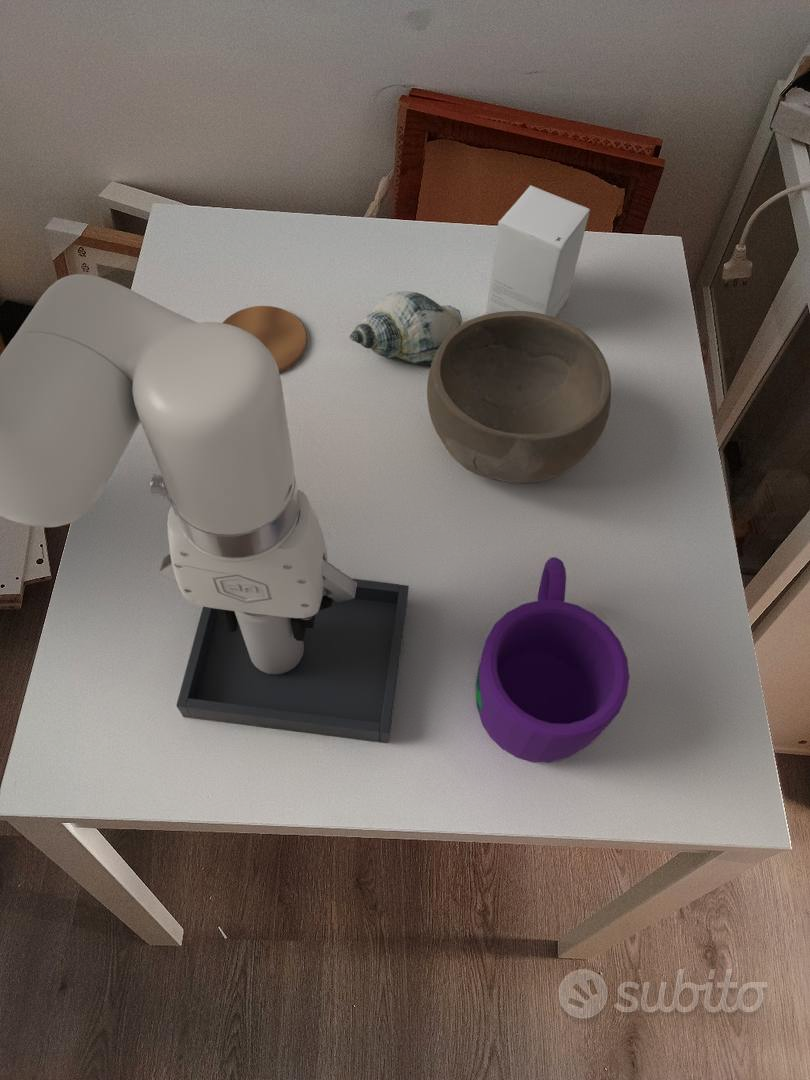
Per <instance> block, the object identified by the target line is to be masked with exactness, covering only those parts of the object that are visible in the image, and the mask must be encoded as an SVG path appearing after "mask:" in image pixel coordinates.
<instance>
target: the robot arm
mask: <svg viewBox="0 0 810 1080" xmlns="http://www.w3.org/2000/svg"><path fill="white" fill-rule="evenodd" d="M288 423H289V422H288V416H287V411H286V403H285V397H284V390H283V382H282V379H281V374H280V373H279V369H278V366H277V364H276V361H275V360H274V358H273V356H272V354H271V353H270V351H269V350H268V349H267V347H266V346H265V345H264V344H263V343H262V342H261V341H260V340H259V339H258V338H256V337H255V336H253V335H252V334H250V333H248V332H247V331H245V330H243V329H241V328H238V327H235V326H232V325H229V324H223V322H212V321H204V322H203V321H202V322H198V321H196V320H193V319H191V318H189V317H187V316H185V315H182V314H180V313H177V312H175V311H173V310H171V309H169V308H167V307H165V306H163V305H161V304H160V303H157V302H155V301H153V300H151V299H149V298H148V297H146V296H143V295H142V294H140V293H138V292H136V291H135V290H133V289H130V288H128V287H126V286H124V285H122V284H119V283H117V282H114V281H112V280H109V279H107V278H103V277H100V276H97V275H94V274H93V275H92V274H83V273H75V274H69V275H66V276H63V277H61V278H60V279H57V280H56V281H55V282H53V284H51V285H50V286H48V287H47V289H45V292H43V294H42V295H41V296H40V297H39V299H38V300H37V302H36V303H35V305H34V307H33V308H32V309H31V311H30V312H29V313H28V315H27V317H26V318H25V320H24V321H23V323H22V324H21V326H20V327H19V329H18V330H17V332H16V333H15V335H14V336H13V338H11V340H10V341H9V343H8V344H7V345H6V347H5V348H4V350H3V351H2V353H0V517H1V518H4V519H6V520H7V521H8V520H9V521H12V522H15V523H17V524H21V525H25V526H29V527H34V528H35V527H37V528H58V527H62V526H66V525H69V524H71V523H73V522H75V521H77V520H79V519H80V518H82V517H83V516H84V515H86V513H88V512H89V510H91V509H92V508H93V506H94V505H95V503H96V502H97V501H98V500H99V497H100V496H101V495H102V493H103V491H104V489H105V488H106V487H107V484H108V482H109V480H110V478H111V477H112V475H113V473H114V471H115V470H116V468H117V466H118V465H119V463H120V461H121V459H122V457H123V455H124V453H125V451H126V449H127V448H128V445H129V443H130V442H131V440H132V438H133V436H134V434H135V432H136V430H137V428H138V427H139V425H140V424H141V426H142V429H143V431H144V434H145V436H146V440H147V441H148V444H149V447H150V450H151V452H152V454H153V457H154V459H155V461H156V464H157V467H158V470H159V472H160V474H157V473H154V474H153V475H152V477H151V480H150V484H149V487H150V488H149V489H150V494H151V495H152V496H158V497H162V498H163V500H164V499H165V500H167V502H168V503H170V504H171V506H170V508H169V511H168V513H167V541H168V548H169V553H168V554H167V555H165V556H164V557H163V558H162V562H161V565H160V569H159V571H158V574H159V575H160V576H161V577H163V578H166V579H168V580H171V581H173V582H176V583H177V586H178V588H179V591H180V592H181V594H182V595H183V597H184V598H185V599H186V600H187V601H188V602H189V603H191V604H194V605H197V606H200V607H203V606H204V607H209V608H213V609H216V611H217V614H218V616H219V617H221V618H222V620H223V623H224V626H225V628H226V631H227V632H232V633H234V631H237V627H238V621H237V618H236V615H235V612H234V611H238V612H245V613H253V614H262V615H270V616H279V617H288V618H291V626H292V630H293V635H294V639H296V640H297V641H303V640H304V635H305V630H306V628H313V626H314V621H315V615H316V614H317V613H318V611H320V610H323V609H326V608H329V607H331V606H332V603H333V602H336V603H340V602H345V601H349V600H353V599H354V598H355V593H356V587H357V582H356V581H354V580H353V579H354V578H352V579H351V576H349V575H348V574H346V573H344V572H343V571H342V570H340V569H339V568H337V567H336V566H334V565H333V564H332V563H330V562H329V558H328V550H327V544H326V541H325V535H324V533H323V532H324V531H323V529H322V527H321V523H320V521H319V520H320V519H319V518H318V515H317V513H316V511H315V509H314V508H313V505H312V504H311V502H310V500H309V498H308V497H307V495H306V494H305V492H304V491H302V490H300V489H298V486H297V479H296V473H295V466H294V465H295V464H294V459H293V452H292V445H291V436H290V431H289V430H290V429H289V424H288Z"/></svg>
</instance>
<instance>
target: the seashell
mask: <svg viewBox="0 0 810 1080" xmlns="http://www.w3.org/2000/svg"><path fill="white" fill-rule="evenodd" d="M462 322H463V317H462V314H461V311H460V310H459V309H457V308H456V307H455V306H451V305H440V304H439V303H437V302H436V301H435V300H434V299H432V298H430V297H428V296H427V295H425V294H423V293H420V292H416V291H407V290H406V291H405V290H404V291H403V290H402V291H395V292H392V293H389V294H387V295H385V296H384V297H383V298H381V300H380V301H379V302H377V303H376V305H375V307H374V309H373V310H372V312H371V313H368V314H367V315H366V316H365V317H364V318H363V319H361V322H360V323H359V324H358V325H357V326H356V327H355V328H354V329H353V331H352V332H351V333H350V334H349V339H350V340H351V341H352V342H356V343H357V344H358V345H359V344H360V345H361V346H362V347H363V348H365V349H371V351H373V353H375V354H376V355H378V356H380V357H383V358H386V359H387V358H388V359H391V358H397V359H399V360H401V361H405V362H407V363H409V364H414V365H431V364H432V361H433V359H434V356H435V354H436V352H437V350H438V348H439V347H440V345H441V344H442V342H443V340H444V339H445V338H446V337H447V336H448V335H449V334H450V333H451V332H452V331H453V330H455V329H456V328H457V327H459V326H460V325H462V324H463V323H462Z"/></svg>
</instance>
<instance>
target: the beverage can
mask: <svg viewBox="0 0 810 1080" xmlns="http://www.w3.org/2000/svg"><path fill="white" fill-rule="evenodd" d="M234 612H235V615H236V618H237V621H238V623H239V626H240V629H241V632H242V635H243V638H244V641H245V644H246V647H247V649H248V652H249V655H250V658H251V661H252V663H253V664H254V665H255V667H257V668H258V669H259V670H260V671H262V672H265V673H267V674H282V673H285V672H288V671H290V670H291V669H293V668H294V667H295V666H296V665H297V664H298V663H299V662H300V660H301V658H302V656H303V652H304V642H303V641H297V640H296V639H294V635H293V630H292V626H291V618H288V617H279V616H270V615H262V614H253V613H245V612H238V611H234Z"/></svg>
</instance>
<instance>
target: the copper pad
mask: <svg viewBox="0 0 810 1080" xmlns="http://www.w3.org/2000/svg"><path fill="white" fill-rule="evenodd" d="M222 323H223V324H229V325H232V326H235V327H238V328H241V329H243V330H245V331H247V332H248V333H250V334H252V335H253V336H255V337H256V338H258V339H259V340H260V341H261V342H262V343H263V344H264V345H265V346H266V347H267V349H268V350H269V351H270V353H271V354H272V356H273V358H274V360H275V361H276V364H277V366H278V369H279V374H280V373H283V372H286V371H287V370H289V369H291V368H292V367H293V366H294V365H296V364H297V363H298V362H299V361H300V359H301V358H302V357H303V355H304V353H305V352H306V348H307V342H308V340H307V339H308V338H307V332H306V328H305V326H304V325H303V323H302V321H301V320H300V319H299V318H298V317H297V316H296V315H295V314H293V313H291V312H290V311H288V310H286V309H283V308H282V307H281V308H280V307H277V306H272V305H256V306H250V307H246V308H243V309H240V310H238V311H235V312H234V313H232V314H231V315H229V316H227V318H225V320H224V321H222Z"/></svg>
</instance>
